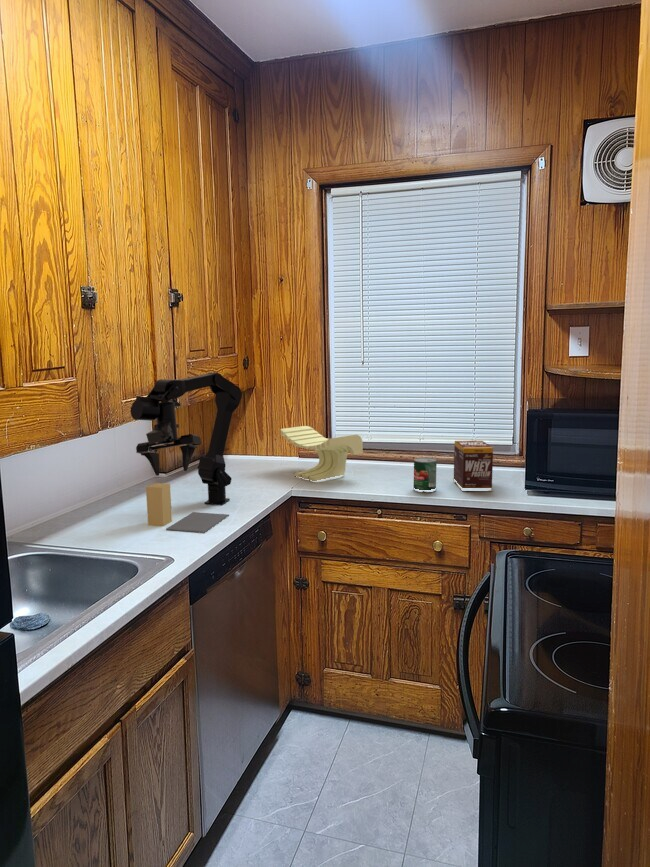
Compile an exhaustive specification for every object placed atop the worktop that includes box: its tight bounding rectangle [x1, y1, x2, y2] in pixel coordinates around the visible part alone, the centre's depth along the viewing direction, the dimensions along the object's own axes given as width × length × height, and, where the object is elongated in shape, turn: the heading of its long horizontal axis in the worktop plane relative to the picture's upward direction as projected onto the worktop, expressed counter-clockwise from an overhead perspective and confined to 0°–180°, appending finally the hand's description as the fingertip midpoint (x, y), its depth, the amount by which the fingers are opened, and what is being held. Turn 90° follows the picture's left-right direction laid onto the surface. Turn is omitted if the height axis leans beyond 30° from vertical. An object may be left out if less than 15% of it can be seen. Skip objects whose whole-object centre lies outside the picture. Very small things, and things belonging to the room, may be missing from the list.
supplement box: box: [453, 440, 494, 489], centre depth 224 cm, size 10×15×16 cm
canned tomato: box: [413, 456, 437, 490], centre depth 220 cm, size 8×8×11 cm
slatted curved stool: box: [280, 425, 364, 481], centre depth 241 cm, size 30×16×18 cm, turn 40°
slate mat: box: [165, 511, 230, 534], centre depth 185 cm, size 17×12×1 cm
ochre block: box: [145, 482, 173, 527], centre depth 184 cm, size 5×5×12 cm
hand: (171, 473), depth 184 cm, fingers open, 9 cm apart
